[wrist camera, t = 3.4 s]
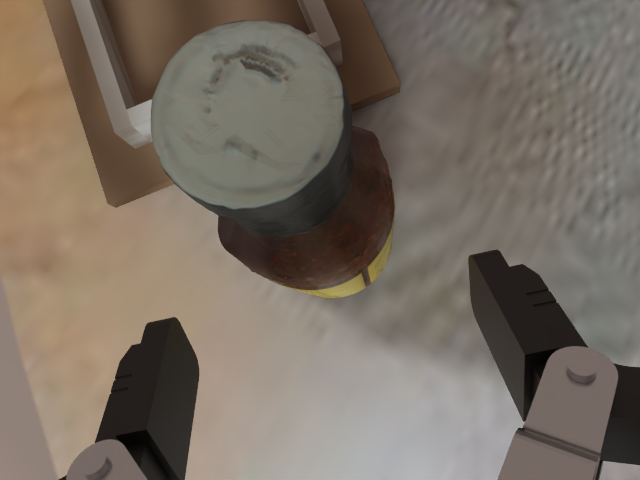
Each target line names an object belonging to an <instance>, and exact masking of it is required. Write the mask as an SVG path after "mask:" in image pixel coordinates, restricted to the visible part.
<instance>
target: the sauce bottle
mask: <svg viewBox="0 0 640 480" xmlns="http://www.w3.org/2000/svg"><path fill="white" fill-rule="evenodd" d="M151 134H152V140H153V146H154V149H155V151H156V153H157V155H158V157H159V160H160V162H161V166H162V168H163V170H164V171H165V173H166V174H167V175H168V176H169V177H170V179H171V180H172V181H173V182H174V183H175V184H176V185H177V186H178V187H179V188H180V189H181V190H182V191H184V192H185V193H186V194H187V195H189V196H190V197H191V198H192V199H193V200H195V201H196V202H198V203H199V204H201V205H202V206H204V207H205V208H207V209H208V210H210V211H212V212H214V213H215V214H217V215H219V218H218V234H219V238H220V241H221V243H222V245H223V247H224V248H225V250H226V251H228V252H229V253H230V254H232V255H233V256H234V257H236V258H237V259H238V260H239V261H241V262H242V263H243V264H244V265H246V266H247V267H248V268H249V269H250V270H251V271H252V272H255V273H257V274H259V275H261V276H263V277H265V278H267V279H269V280H270V281H273V282H275V283H277V284H279V285H282V286H285V287H288V288H291V289H294V290H297V291H301V292H305V293H308V294H311V295H315V296H319V297H325V298H339V297H345V296H348V295H352V294H355V293H357V292H359V291H361V290H363V289H365V287H366V286H368V285H370V284H371V283H372V282H373V281H374V280H375V279H376V278H377V277H378V276H379V274H380V273H381V272H382V270H383V269H384V267H385V265H386V263H387V261H388V258H389V255H390V252H391V247H392V233H393V223H394V209H395V203H394V193H393V189H392V180H391V178H390V175H389V170H388V165H387V162H386V160H385V158H384V156H383V154H382V152H381V149H380V145H379V142H378V139H377V137H376V135H375V134H374V133H373V132H371V131H367V130H364V129H361V128H358V127H355V126H352V109H351V103H350V100H349V97H348V93H347V90H346V89H345V86H344V83H343V81H342V77H341V74H340V72H339V70H338V67H337V64H336V63H335V62H334V61H333V60H332V59H331V57H330V56H329V54H328V53H327V52H326V50H325V49H324V48H323V46H322V45H320V44H319V43H317V42H316V41H314V40H313V39H312V38H310V37H309V36H308V35H307V34H306V33H304V32H303V31H302V30H300V29H298V28H296V27H294V26H292V25H289V24H285V23H282V22H273V21H267V20H241V21H235V22H230V23H225V24H220V25H216V26H214V27H213V28H211V29H209V30H207V31H205V32H203V33H200V34H197V35H195V36H194V37H193V38H192V39H190V40H189V41H188V42H187V43H186V44H184V45H183V46H182V47H181V48H180V49H179V50H178V51H177V52H176V53H175V55H174V56H173V57H172V58H171V60H170V61H169V62H168V64H167V65H166V68H165V70H164V72H163V74H162V76H161V78H160V80H159V83H158V85H157V87H156V90H155V92H154V94H153V96H152V106H151Z"/></svg>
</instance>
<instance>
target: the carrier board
mask: <svg viewBox="0 0 640 480" xmlns="http://www.w3.org/2000/svg"><path fill="white" fill-rule="evenodd" d="M43 2H44V5H45V8H46V12H47V15H48V18H49V21H50V24H51V27H52V30H53V34H54V37H55V40H56V43H57V46H58V49H59V52H60V56H61V59H62V62H63V65H64V68H65V71H66V74H67V77H68V81H69V84H70V87H71V90H72V93H73V96H74V99H75V103H76V106H77V109H78V112H79V115H80V118H81V121H82V124H83V128H84V131H85V134H86V137H87V140H88V143H89V146H90V150H91V153H92V156H93V159H94V162H95V165H96V168H97V171H98V175H99V178H100V181H101V184H102V187H103V190H104V193H105V197H106V200H107V203H108V204H110V205H112V206H114V207H118V206H121V205H123V204H126V203H128V202H131V201H133V200H136V199H138V198H141V197H143V196H145V195H148V194H150V193H153V192H155V191H158V190H160V189H163V188H165V187H168V186H170V185H172V184H175V183H174V182H173V181H172V180H171V179H170V177H169V176H168V175H167V174H166V173H165V171H164V170H163V168H162V166H161V162H160V160H159V157H158V155H157V153H156V151H155V149H154V146H153V140H152V134H151V106H152V96H153V94H154V92H155V90H156V87H157V85H158V83H159V80H160V78H161V76H162V74H163V72H164V70H165V68H166V65H167V64H168V62H169V61H170V60H171V58H172V57H173V56H174V55H175V53H176V52H177V51H178V50H179V49H180V48H181V47H182V46H183V45H184V44H186V43H187V42H188V41H189V40H190V39H192V38H193V37H194V36H195V35H197V34H200V33H203V32H205V31H207V30H209V29H211V28H213V27H214V26H216V25H220V24H225V23H230V22H235V21H241V20H267V21H273V22H282V23H285V24H289V25H292V26H294V27H296V28H298V29H300V30H302V31H303V32H304V33H306V34H307V35H308V36H309V37H310V38H312V39H313V40H314V41H316V42H317V43H319V44H320V45H322V46H323V48H324V49H325V50H326V52H327V53H328V54H329V56H330V57H331V59H332V60H333V61H334V62H335V63H336V64H337V67H338V70H339V72H340V74H341V77H342V81H343V83H344V86H345V89H346V90H347V93H348V97H349V100H350V103H351V109H352V111H354V110H357V109H359V108H362V107H364V106H366V105H369V104H371V103H374V102H376V101H379V100H381V99H384V98H386V97H389V96H391V95H393V94H396V93H398V92H400V85H401V84H400V82H399V80H398V78H397V75H396V73H395V71H394V69H393V67H392V64H391V62H390V60H389V58H388V56H387V53H386V51H385V49H384V47H383V45H382V42H381V40H380V38H379V36H378V34H377V31H376V29H375V27H374V25H373V23H372V21H371V18H370V16H369V14H368V12H367V10H366V7H365V5H364V3H363V1H362V0H43Z"/></svg>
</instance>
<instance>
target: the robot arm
mask: <svg viewBox="0 0 640 480" xmlns="http://www.w3.org/2000/svg"><path fill="white" fill-rule="evenodd" d="M468 261H469V279H470V296H471V304H472V308H473V312H474V315H475V318H476V321H477V323H478V325H479V327H480V330H481V332H482V334H483V336H484V338H485V340H486V342H487V345H488V347H489V349H490V351H491V353H492V355H493V357H494V360H495V362H496V364H497V366H498V368H499V370H500V373H501V375H502V377H503V379H504V381H505V383H506V385H507V388H508V390H509V392H510V394H511V396H512V398H513V400H514V403H515V405H516V407H517V409H518V411H519V413H520V416H521V418H522V420H523V422H524V421H525V424H524V426H523V428H522V429H521V428H518V429H517V431H516V433H515V435H514V437H513V440H512V442H511V445H510V448H509V450H508V453H507V456H506V458H505V461H504V464H503V466H502V469H501V472H500V474H499V477H498V480H599V478H600V474H601V470H602V465H603V461H610V462H618V463H627V464H635V465H640V367H628V366H622V365H618V364H614V363H613V362H612V361H611V360H610V359H609V358H608V357H606V356H605V355H604V354H602V353H600V352H598V351H596V350H594V349H590V348H588V346H587V345H586V344H585V342H584V341H583V339H582V338H581V336H580V335H579V333H578V332H577V330H576V329H575V327H574V326H573V325H572V323H571V322H570V320H569V319H568V317H567V316H566V314H565V313H564V311H563V310H562V308H561V307H560V305H559V304H558V303H557V302H556V299H555V298H554V296H553V295H552V293H551V292H549V290H548V288H547V286H546V285H545V283H544V282H543V280H542V279H541V277H540V276H539V275H538V274H537V273H535V272H534V271H532V270H531V269H529V268H528V267H526V266H525V265H523V264H521V265H516V266H511V267H509V266H508V264H507V262H506V261H505V259H504V257H503V256H502V254H501V253H500V251H499V250H492V251H488V252H483V253H478V254H474V255H470V256H469V260H468ZM115 379H116V380H115V381H114V383H113V386H112V389H111V394H110V396H109V399H108V402H107V405H106V408H105V412H104V415H103V418H102V421H101V425H100V428H99V431H98V434H97V438H96V441H95V444H93V445H91V446H89V447H88V448H86V449H85V450H84V451H83V452H81V453H80V454H79V455H78V456H77V458H76V459H75V460H74V461H73V463H72V464H71V466H70V468H69V470H68V473H67V475H66V476H65V477H63V478H61V479H59V480H185V473H186V466H187V459H188V452H189V445H190V438H191V431H192V424H193V417H194V410H195V403H196V396H197V389H198V381H199V365H198V360H197V357H196V354H195V352H194V350H193V348H192V346H191V344H190V342H189V340H188V338H187V336H186V334H185V332H184V330H183V328H182V326H181V324H180V322H179V320H178V319H177V318H175V317H173V318H168V319H164V320H159V321H154V322H149V323H147V325H146V327H145V330H144V333H143V337H142V341H141V344H136V345H132V346H131V347H130V349H129V350H128V351H127V353H126V354H125V355H124V357H123V358H122V359H121V361H120V363H119V366H118V370H117V373H116V376H115Z"/></svg>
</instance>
